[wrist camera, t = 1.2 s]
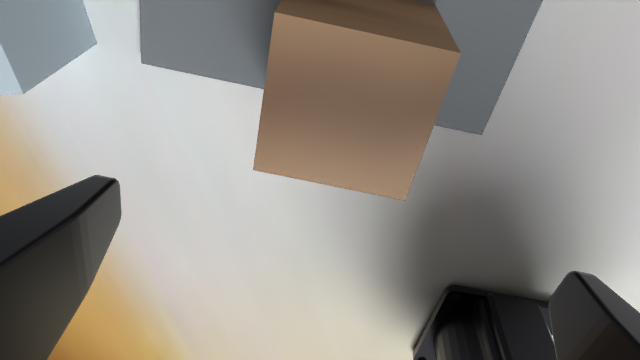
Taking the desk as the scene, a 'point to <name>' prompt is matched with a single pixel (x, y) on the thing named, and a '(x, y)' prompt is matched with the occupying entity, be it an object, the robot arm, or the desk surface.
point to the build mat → (256, 29)
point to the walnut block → (353, 92)
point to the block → (40, 40)
